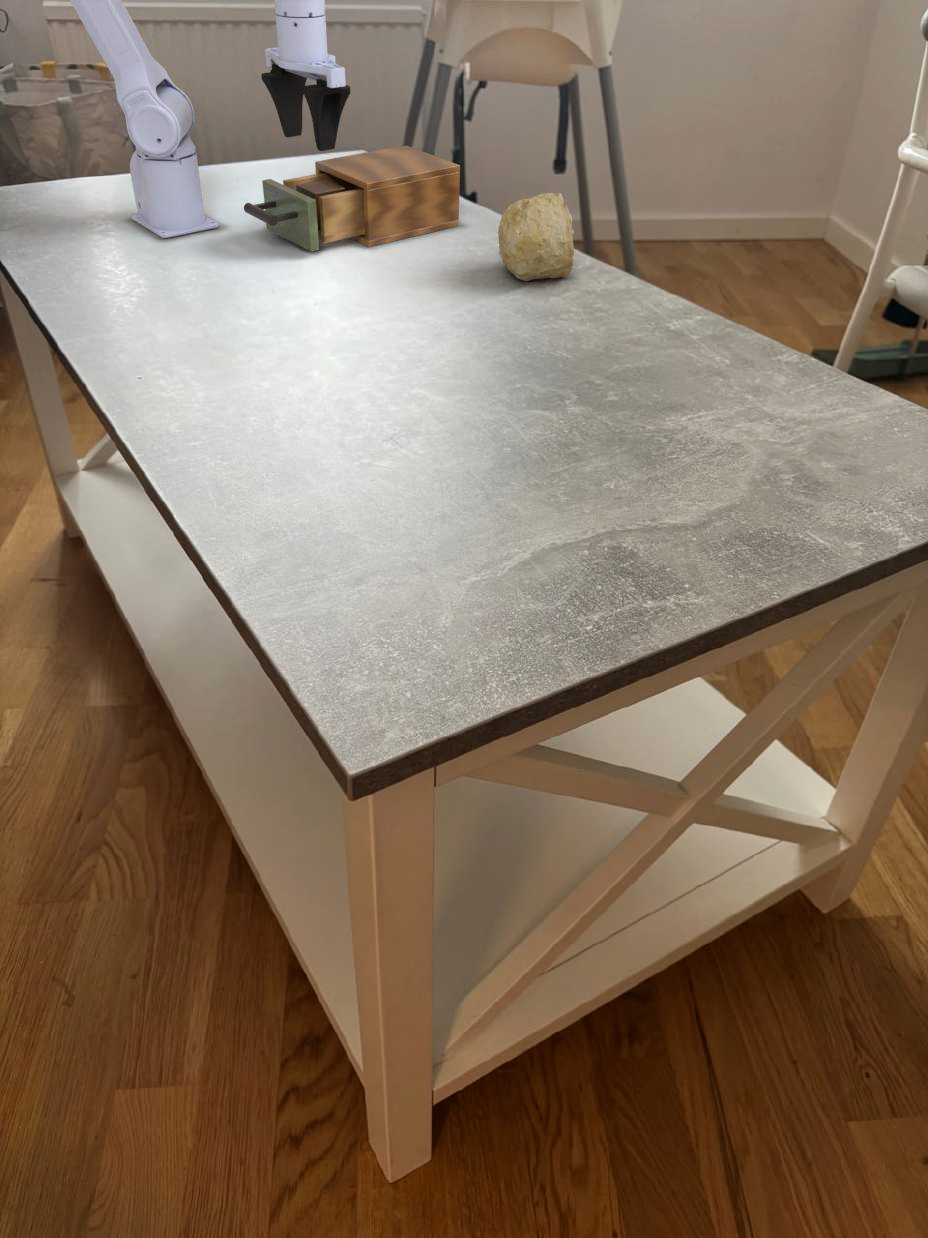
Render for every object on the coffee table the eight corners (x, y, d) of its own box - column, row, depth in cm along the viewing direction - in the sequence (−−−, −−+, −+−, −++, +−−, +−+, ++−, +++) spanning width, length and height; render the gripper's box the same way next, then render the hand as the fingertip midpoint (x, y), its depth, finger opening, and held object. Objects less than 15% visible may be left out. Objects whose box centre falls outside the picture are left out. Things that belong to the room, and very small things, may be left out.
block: (298, 221, 121) (295, 184, 119) (327, 215, 124) (325, 178, 121) (317, 230, 119) (315, 193, 116) (347, 224, 121) (345, 187, 118)
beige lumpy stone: (609, 228, 107) (533, 193, 103) (564, 308, 113) (490, 277, 109) (587, 195, 114) (515, 161, 110) (546, 272, 120) (476, 242, 116)
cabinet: (369, 247, 121) (366, 183, 116) (318, 222, 127) (314, 161, 123) (458, 225, 128) (460, 164, 123) (406, 203, 135) (406, 145, 130)
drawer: (281, 258, 114) (276, 207, 111) (238, 234, 120) (232, 185, 117) (400, 230, 123) (399, 182, 119) (354, 209, 129) (352, 163, 125)
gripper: (365, 20, 108) (369, 150, 117) (296, 3, 116) (305, 125, 125) (312, 25, 104) (320, 159, 113) (245, 7, 113) (257, 133, 122)
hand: (309, 142), depth 119 cm, fingers open, 7 cm apart
